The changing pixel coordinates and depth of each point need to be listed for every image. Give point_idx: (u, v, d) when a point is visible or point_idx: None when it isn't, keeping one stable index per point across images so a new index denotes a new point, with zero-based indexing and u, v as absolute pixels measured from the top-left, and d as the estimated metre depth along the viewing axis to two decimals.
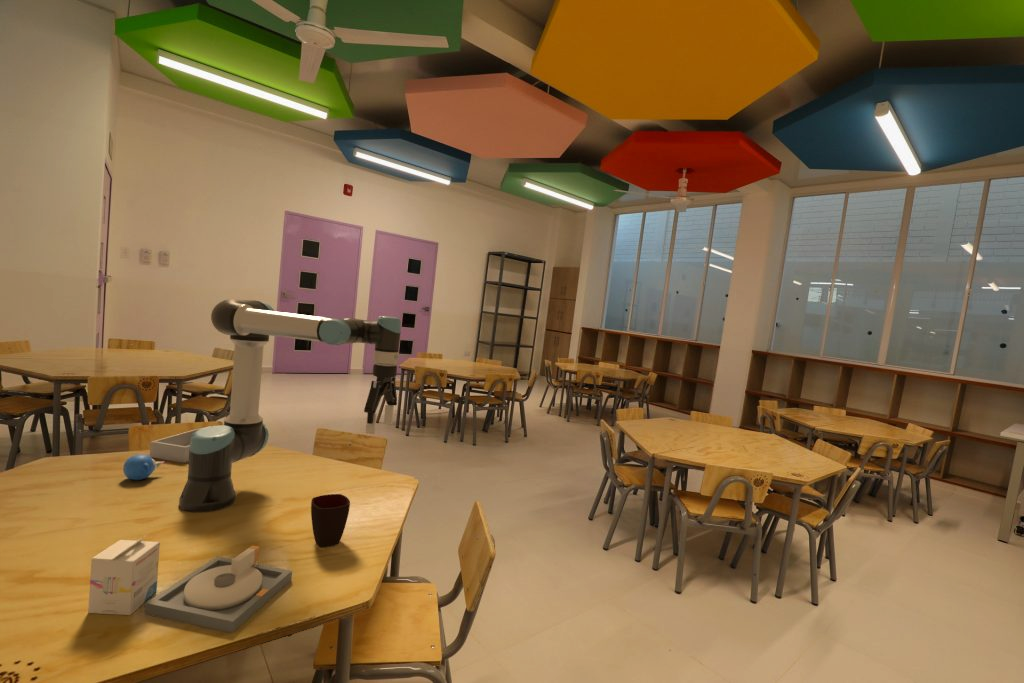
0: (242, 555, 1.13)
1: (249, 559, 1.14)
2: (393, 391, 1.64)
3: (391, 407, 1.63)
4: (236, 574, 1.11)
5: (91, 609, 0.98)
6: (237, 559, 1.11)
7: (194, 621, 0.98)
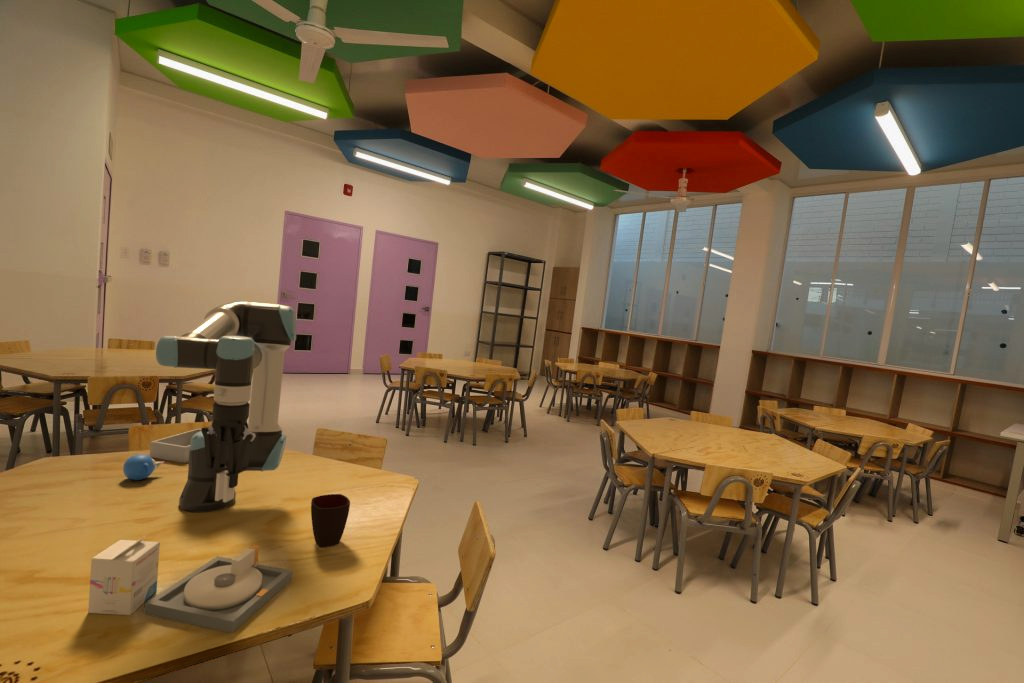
0: (242, 555, 1.13)
1: (249, 559, 1.14)
2: None
3: None
4: (236, 574, 1.11)
5: (91, 609, 0.98)
6: (237, 559, 1.11)
7: (194, 621, 0.98)
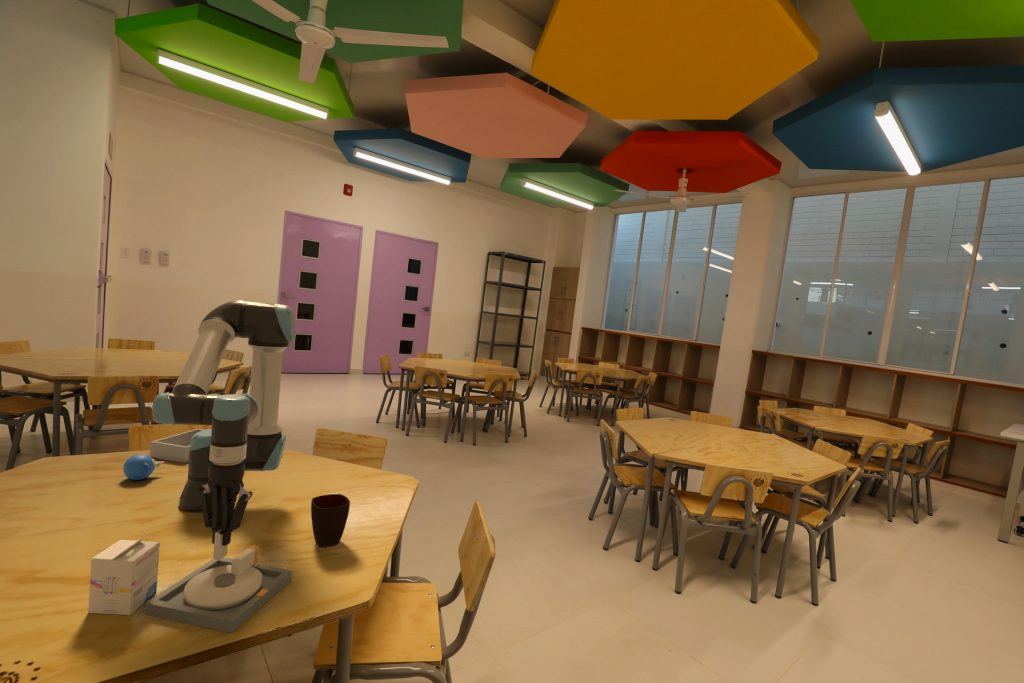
0: (242, 555, 1.13)
1: (249, 559, 1.14)
2: None
3: None
4: (236, 574, 1.11)
5: (91, 609, 0.98)
6: (237, 559, 1.11)
7: (194, 621, 0.98)
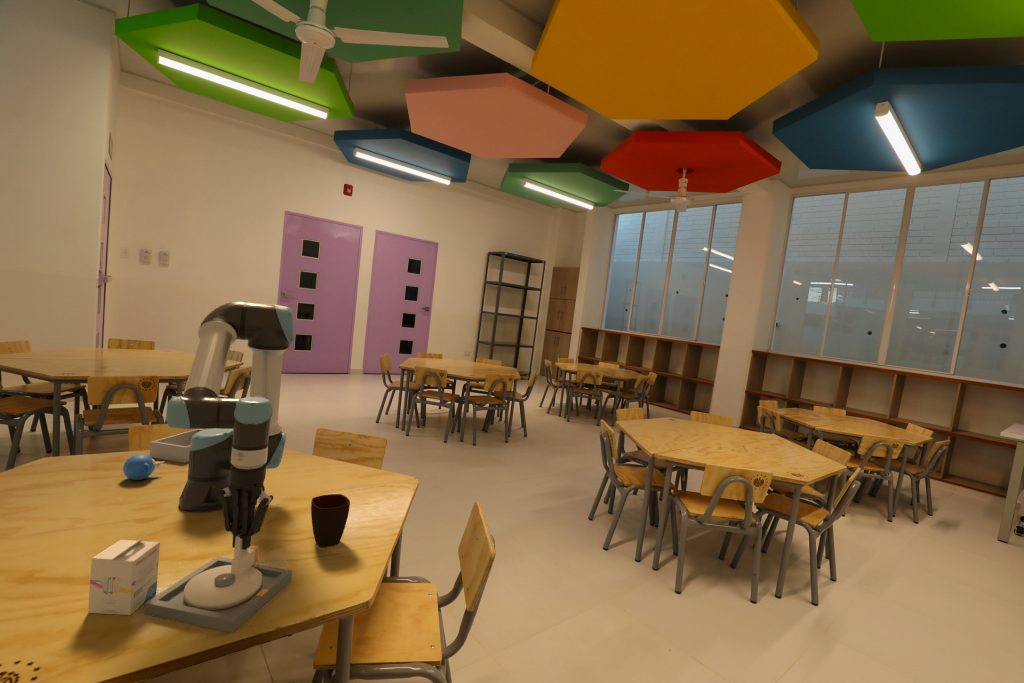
0: (242, 555, 1.13)
1: (249, 559, 1.14)
2: None
3: None
4: (236, 574, 1.11)
5: (91, 609, 0.98)
6: (237, 559, 1.11)
7: (194, 621, 0.98)
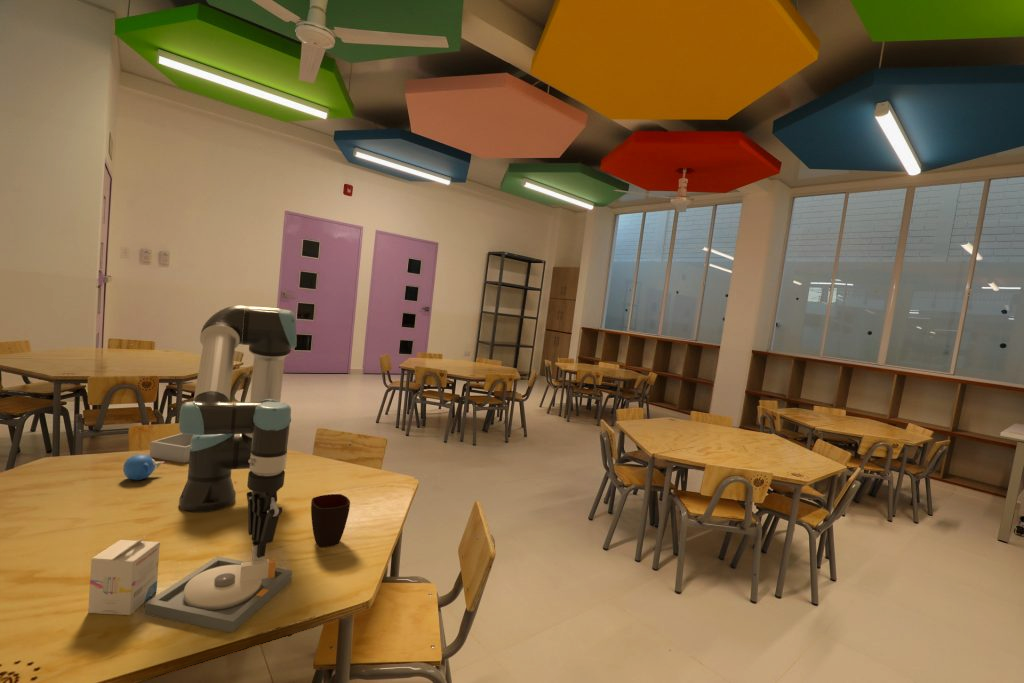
0: (252, 563, 1.10)
1: (258, 570, 1.10)
2: None
3: None
4: (240, 580, 1.09)
5: (91, 609, 0.98)
6: (243, 564, 1.09)
7: (194, 621, 0.98)
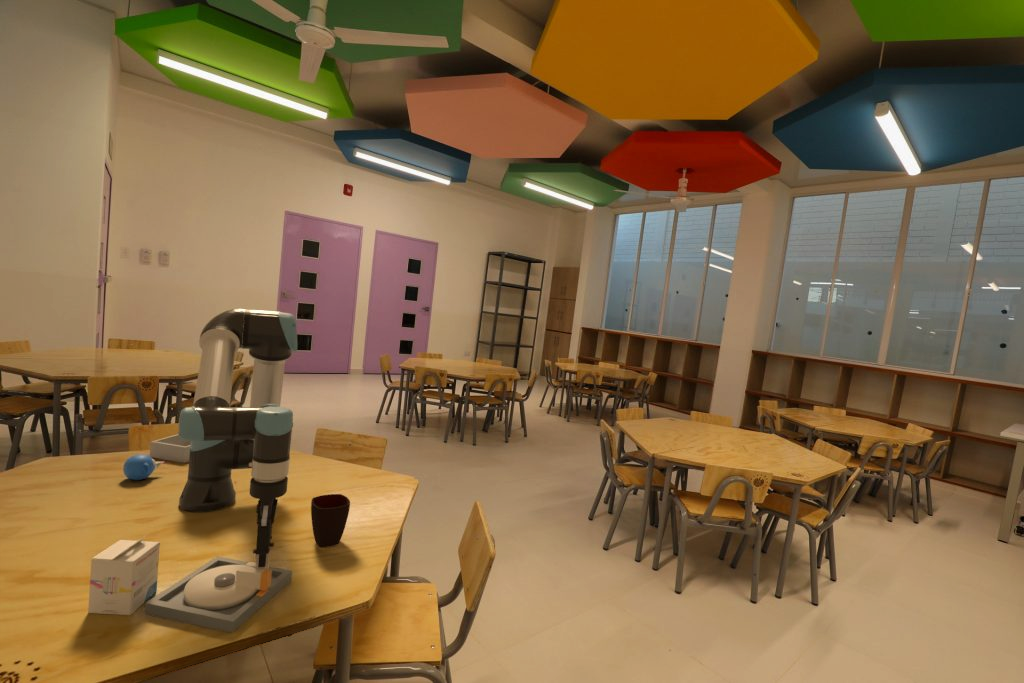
0: (248, 570, 1.07)
1: (251, 579, 1.07)
2: None
3: None
4: None
5: (91, 609, 0.98)
6: (240, 569, 1.07)
7: (194, 621, 0.98)
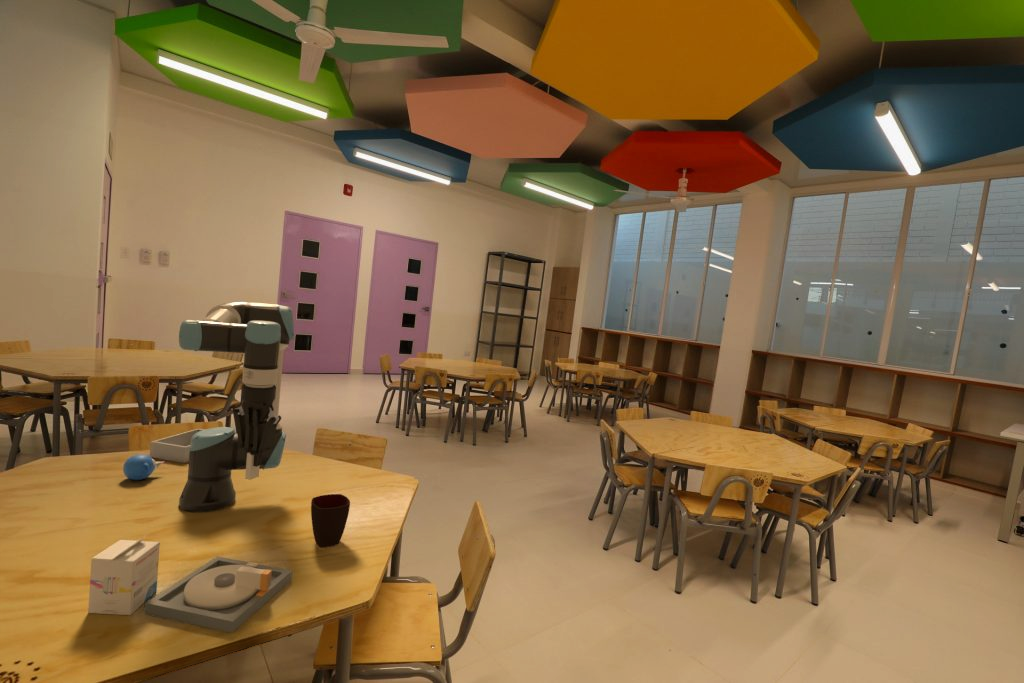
0: (248, 570, 1.07)
1: (251, 579, 1.07)
2: None
3: None
4: None
5: (91, 609, 0.98)
6: (240, 569, 1.07)
7: (194, 621, 0.98)
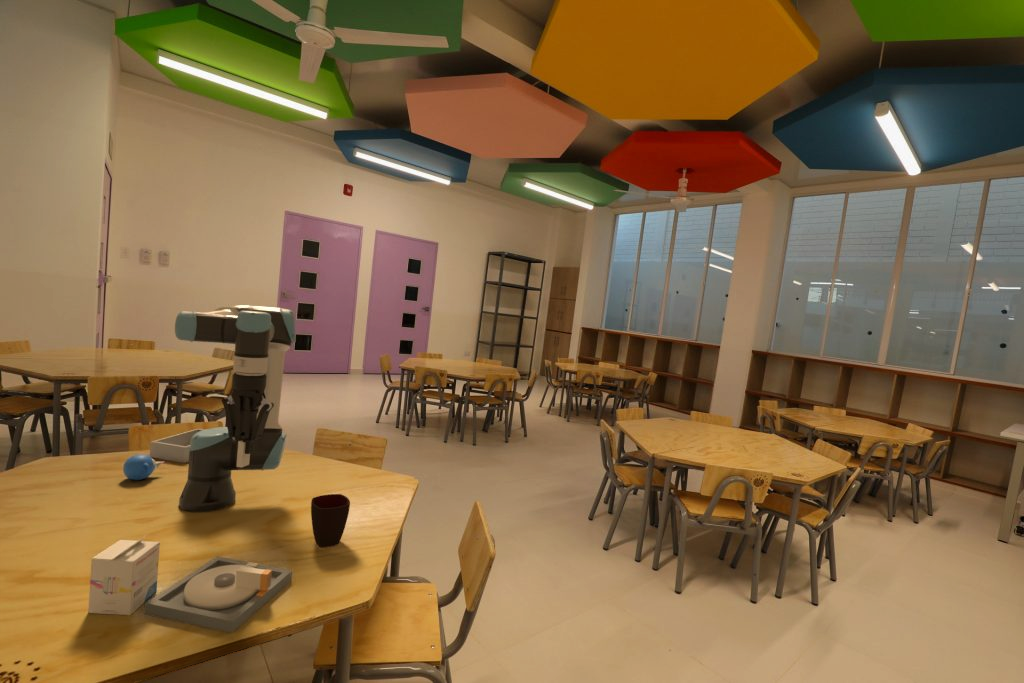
0: (248, 570, 1.07)
1: (251, 579, 1.07)
2: None
3: None
4: None
5: (91, 609, 0.98)
6: (240, 569, 1.07)
7: (194, 621, 0.98)
